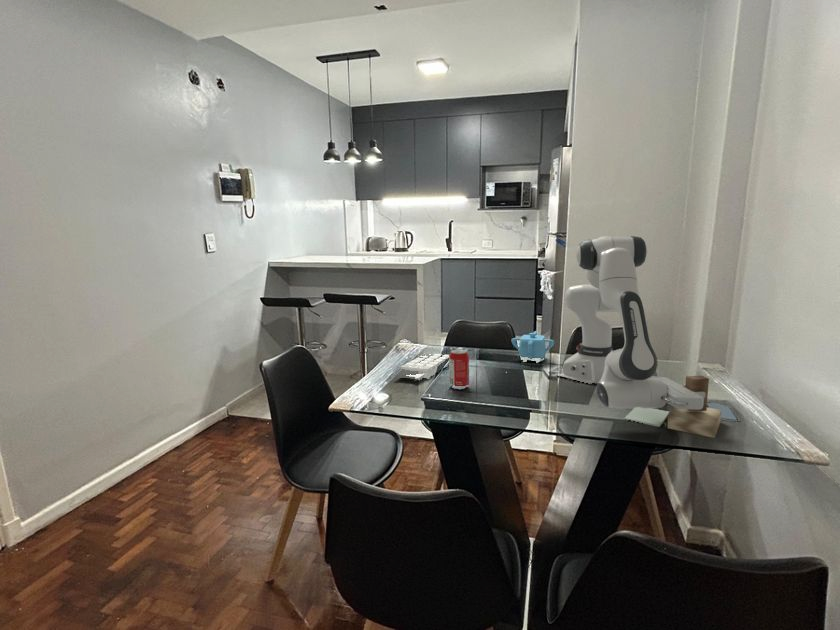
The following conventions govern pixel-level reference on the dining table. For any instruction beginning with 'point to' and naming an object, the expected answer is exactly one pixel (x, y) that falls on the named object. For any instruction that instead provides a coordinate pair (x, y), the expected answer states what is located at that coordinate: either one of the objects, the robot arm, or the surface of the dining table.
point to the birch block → (695, 421)
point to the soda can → (459, 368)
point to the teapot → (532, 345)
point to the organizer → (421, 367)
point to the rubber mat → (647, 416)
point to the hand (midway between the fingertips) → (699, 391)
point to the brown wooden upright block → (698, 387)
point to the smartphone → (724, 412)
